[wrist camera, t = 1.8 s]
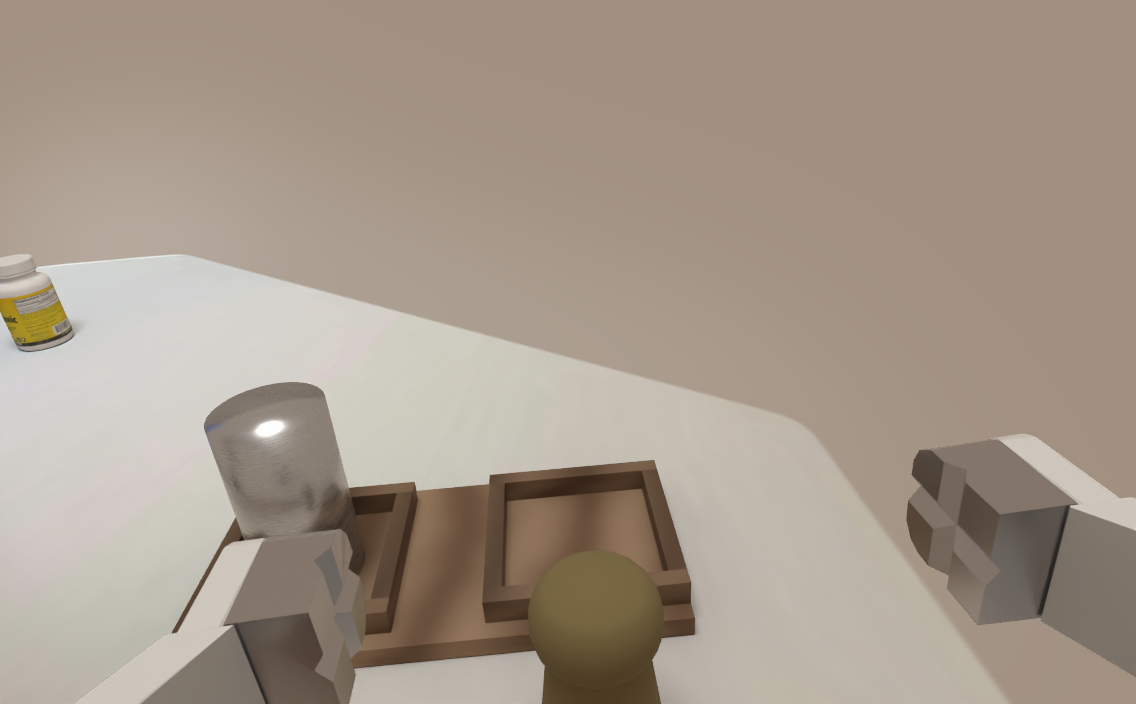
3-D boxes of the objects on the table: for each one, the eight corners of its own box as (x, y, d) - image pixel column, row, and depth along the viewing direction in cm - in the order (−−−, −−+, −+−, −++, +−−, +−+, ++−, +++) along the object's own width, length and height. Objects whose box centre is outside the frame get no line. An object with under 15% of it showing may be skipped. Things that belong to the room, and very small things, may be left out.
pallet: (179, 685, 36) (162, 649, 34) (262, 519, 47) (252, 487, 46) (694, 634, 36) (695, 596, 35) (651, 483, 48) (651, 451, 47)
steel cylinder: (245, 611, 38) (183, 447, 33) (279, 537, 44) (229, 387, 39) (353, 600, 39) (307, 436, 34) (373, 528, 44) (336, 377, 39)
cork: (595, 681, 34) (583, 508, 29) (700, 755, 31) (707, 571, 26) (509, 775, 30) (478, 593, 25) (617, 873, 27) (607, 682, 22)
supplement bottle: (15, 342, 78) (-23, 261, 74) (70, 327, 81) (36, 248, 77) (20, 357, 75) (-20, 272, 70) (78, 340, 78) (43, 258, 73)
